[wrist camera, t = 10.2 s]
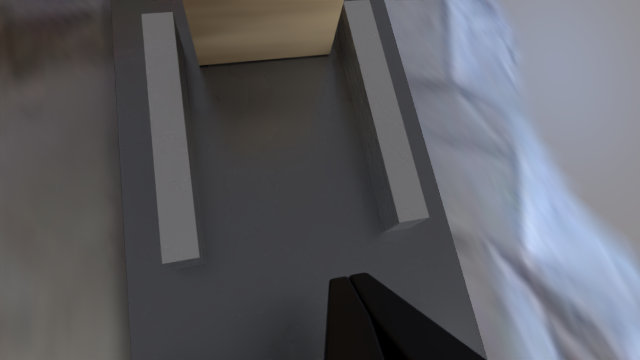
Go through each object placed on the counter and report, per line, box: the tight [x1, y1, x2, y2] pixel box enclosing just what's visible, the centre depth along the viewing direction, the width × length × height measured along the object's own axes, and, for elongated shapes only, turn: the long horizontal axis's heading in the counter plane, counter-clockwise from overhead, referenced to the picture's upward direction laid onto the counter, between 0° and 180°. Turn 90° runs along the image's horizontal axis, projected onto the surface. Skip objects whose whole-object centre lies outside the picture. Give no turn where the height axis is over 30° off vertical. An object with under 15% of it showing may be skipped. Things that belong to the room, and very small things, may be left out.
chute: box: [111, 0, 487, 360], centre depth 17 cm, size 22×13×4 cm, turn 11°
